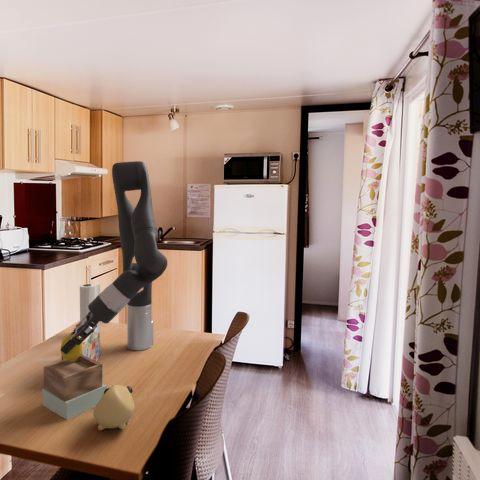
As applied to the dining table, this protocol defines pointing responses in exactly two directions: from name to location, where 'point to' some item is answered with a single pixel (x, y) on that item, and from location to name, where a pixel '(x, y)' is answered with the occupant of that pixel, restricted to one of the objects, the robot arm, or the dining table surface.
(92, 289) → the paper towel roll
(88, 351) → the stack of blocks
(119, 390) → the cream pug plush toy
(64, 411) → the tower base
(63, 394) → the wooden box
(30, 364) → the dining table surface
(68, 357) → the lemon
